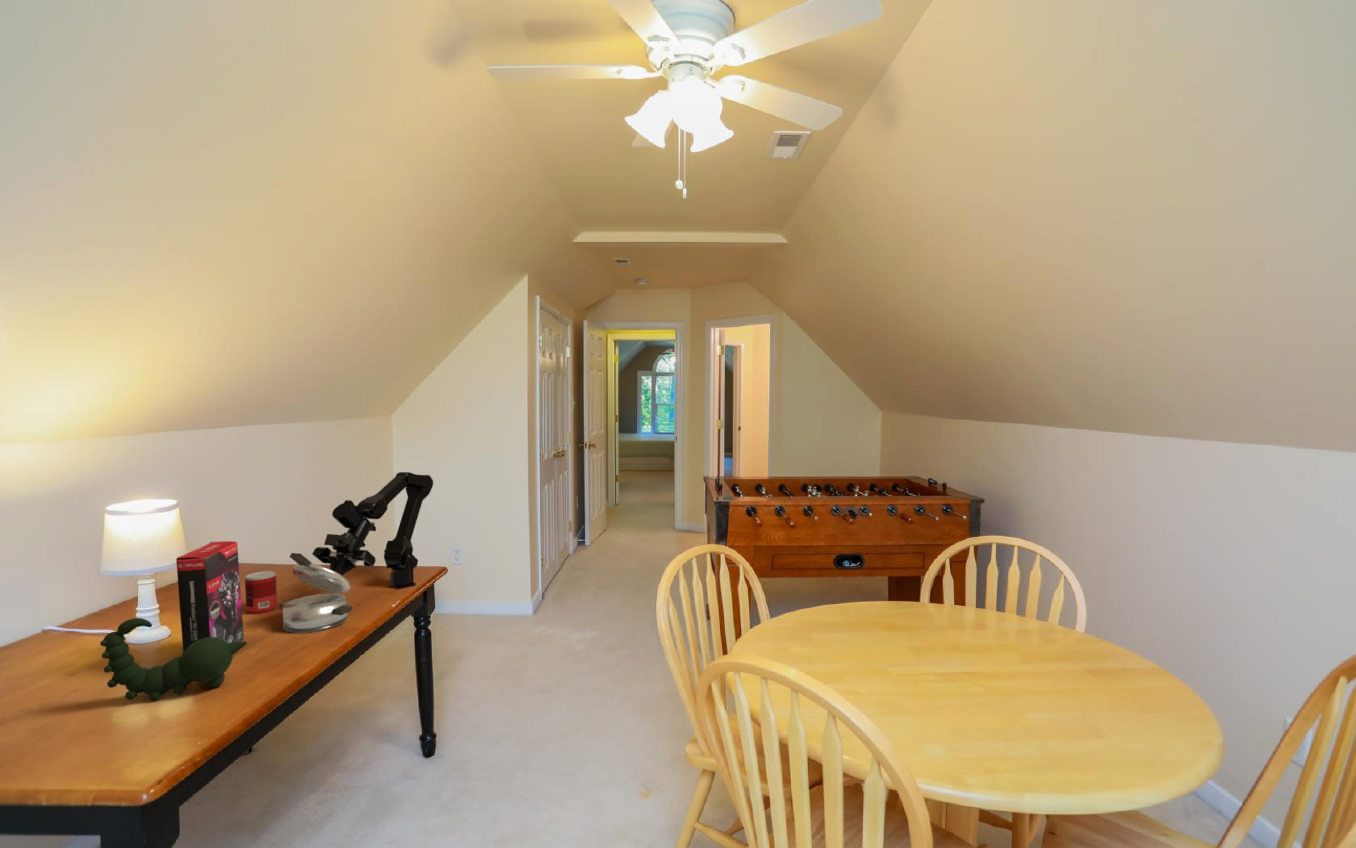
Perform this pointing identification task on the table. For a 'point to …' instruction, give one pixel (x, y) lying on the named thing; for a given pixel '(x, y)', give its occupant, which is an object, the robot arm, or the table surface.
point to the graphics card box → (210, 593)
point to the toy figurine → (195, 664)
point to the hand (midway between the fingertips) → (330, 582)
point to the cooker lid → (319, 575)
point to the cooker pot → (314, 613)
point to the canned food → (261, 592)
